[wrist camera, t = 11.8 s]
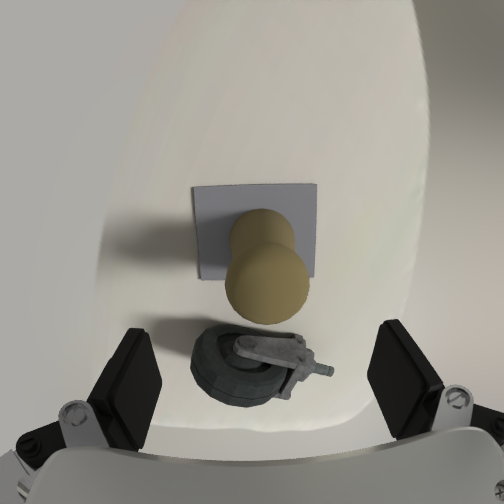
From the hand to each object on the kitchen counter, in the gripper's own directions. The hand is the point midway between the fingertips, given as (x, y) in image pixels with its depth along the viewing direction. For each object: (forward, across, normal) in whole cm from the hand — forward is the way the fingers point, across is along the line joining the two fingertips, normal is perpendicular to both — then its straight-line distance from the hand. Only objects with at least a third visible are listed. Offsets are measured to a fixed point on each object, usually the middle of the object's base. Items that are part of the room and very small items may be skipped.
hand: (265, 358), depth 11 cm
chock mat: (+17, 0, 0) cm, 17 cm away
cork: (+17, 0, +1) cm, 17 cm away
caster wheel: (+17, -1, +12) cm, 21 cm away
